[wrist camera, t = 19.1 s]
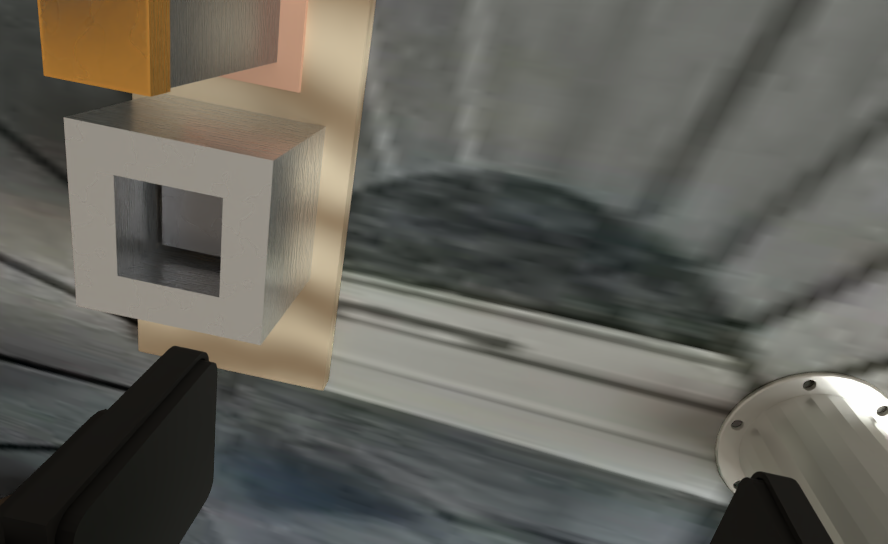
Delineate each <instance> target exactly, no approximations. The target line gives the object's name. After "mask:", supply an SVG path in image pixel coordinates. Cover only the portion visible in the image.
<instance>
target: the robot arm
mask: <svg viewBox="0 0 888 544" xmlns="http://www.w3.org/2000/svg"><path fill="white" fill-rule="evenodd" d="M807 380H814V384H813V385H812V386H811V387H809V388H804V387H803V383H804V382H805V381H807ZM216 392H217V365H216V363H214V362H210V361H209V357H208V354H207V353H206V352H203V351H198V350H193V349H189V348H184V347H180V346H172V347H171V348H169V349H168V350H167V351H166V352H165V353H164V354H163V355H162V356H161V357H160V358H159V359H158V360H157V361H156V362H155V363H154V364H153V365H152V366H151V367H150V368H149V369H148V370H147V371H146V372H145V373H144V374H143V375H142V376H141V377H140V378H139V379H138V380H137V381H136V382H135V383H134V384H133V385H132V386H131V387H130V388H129V389H128V390H127V391H126V392H125V393H124V394H123V395H122V396H121V397H120V398H119V399H118V400H117V401H116V402H115V403H114V404H113V405H112V406H111V407H110V408H109V409H108V410H106V409H105V410H101V411H98V412H97V413H96V414H94V415H93V416H92V417H91V418H90V419H89V420H88V421H87V422H85V423H84V424H83V425H82V426H81V427H80V428H79V429H78V430H77V431H76V432H75V433H74V434H73V435H72V436H71V437H70V438H69V439H68V440H67V441H66V442H65V443H64V444H63V445H62V446H61V447H60V448H59V449H58V450H57V451H56V452H55V453H54V454H53V455H52V456H51V457H50V458H49V459H48V460H47V461H46V462H44V463H43V464H42V465H41V466H40V467H39V468H38V469H37V470H36V471H35V472H34V473H33V474H32V475H31V476H30V477H29V478H28V479H27V480H26V481H25V482H24V483H23V484H22V485H21V486H20V487H19V488H18V489H17V490H16V491H15V492H14V493H13V494H12V495H11V496H10V497H9V498H8V499H7V500H6V501H4V502H3V503H2V504H1V505H0V544H179V543H180V542H181V540H182V538H183V537H184V535H185V534H186V532H187V530H188V529H189V527H190V525H191V524H192V522H193V521H194V519H195V517H196V516H197V514H198V513H199V511H200V509H201V508H202V506H203V505H204V503H205V501H206V500H207V498H208V496H209V493H210V490H211V487H212V483H213V474H214V447H215V419H216ZM881 406H887V410H886V411H885V412H883V413H876V411H877V409H878V408H879V407H881ZM736 420H741V421H742V424H741V425H740V426H738V427H732V426H731V424H732V422H734V421H736ZM715 457H716V464H717V467H718V470H719V473H720V475H721V477H722V479H723V480H724V482H725V484H726V485H727V487H728V488H729V489H730V490H731V491H732V492H733V493H734V496H733V498H732V500H731V502H730V504H729V506H728V508H727V510H726V512H725V514H724V516H723V518H722V520H721V522H720V524H719V526H718V528H717V530H716V532H715V534H714V536H713V538H712V541H711V543H710V544H888V397H887V396H886V395H885V394H884V393H883V392H881V391H880V390H879V389H878V388H876V387H875V386H873V385H871V384H869V383H868V382H866V381H864V380H861V379H858V378H855V377H852V376H849V375H845V374H839V373H832V372H810V373H803V374H797V375H792V376H788V377H785V378H781V379H778V380H775V381H773V382H771V383H769V384H766V385H764V386H763V387H760V388H759V389H757V390H755V391H754V392H752V393H751V394H749V395H748V396H747V397H745V398H744V399H743V400H742V401H741V402H740V403H739V404H737V405H736V407H735V408H733V410H732V411H731V412H730V413H729V415H728V416H727V417H726V419H725V420H724V422H723V424H722V426H721V428H720V431H719V433H718V436H717V440H716V446H715ZM736 481H741V482H740V483H739V485H738V487H737V486H734V483H735V482H736Z"/></svg>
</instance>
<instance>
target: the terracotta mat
mask: <svg viewBox="0 0 888 544" xmlns="http://www.w3.org/2000/svg"><path fill="white" fill-rule="evenodd" d="M307 11H308V0H281V2H280V19H279V36H278V52H277V62H275V63H271V64H267V65H263V66H259V67H255V68H251V69H247V70H242V71H238V72H234V73H230V74H226V75H222V76H219V77H223V78H228V79H233V80H238V81H243V82H248V83H253V84H258V85H263V86H268V87H272V88H277V89H282V90H287V91H292V92H297V93H299V92H301V82H302V70H303V59H304V47H305V35H306V23H307Z"/></svg>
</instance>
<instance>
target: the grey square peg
mask: <svg viewBox="0 0 888 544" xmlns="http://www.w3.org/2000/svg"><path fill="white" fill-rule="evenodd" d="M37 2H38V14H39V25H40V37H41V48H42V59H43V71H44V76H48V77H53V78H58V79H63V80H68V81H73V82H78V83H83V84H88V85H93V86H98V87H103V88H108V89H113V90H119V91H124V92H129V93H134V94H139V95H144V96H149V97H152V96H156V95H160V94H164V93H168V92H171V88H173V87H177V86H181V85H185V84H189V83H193V82H198V81H202V80H206V79H210V78H214V77H218V76H222V75H226V74H230V73H234V72H238V71H242V70H247V69H251V68H255V67H259V66H263V65H267V64H271V63H275V62H277V52H278V36H279V19H280V2H281V0H37Z"/></svg>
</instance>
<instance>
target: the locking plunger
mask: <svg viewBox="0 0 888 544" xmlns="http://www.w3.org/2000/svg"><path fill="white" fill-rule="evenodd" d="M222 211H223V198H221V197H216V196H211V195H207V194H202V193H197V192H192V191H187V190H183V189H178V188H173V187H168V186H163V185H162V245H167V246H171V247H176V248H181V249H186V250H190V251H195V252H200V253H204V254H209V255H214V256H219V257H221V238H222Z"/></svg>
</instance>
